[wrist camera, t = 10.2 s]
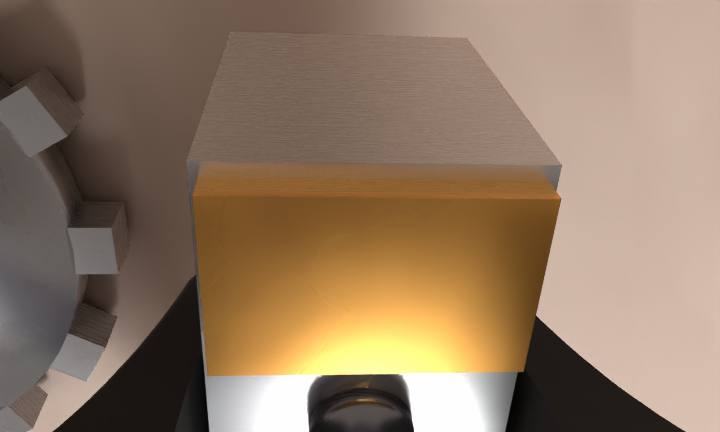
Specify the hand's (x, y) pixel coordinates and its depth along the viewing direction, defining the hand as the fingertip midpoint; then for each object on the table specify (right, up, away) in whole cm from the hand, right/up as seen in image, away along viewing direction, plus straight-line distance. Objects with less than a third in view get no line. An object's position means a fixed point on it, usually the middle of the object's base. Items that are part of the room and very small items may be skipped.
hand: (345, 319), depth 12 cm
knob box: (0, +1, +2) cm, 2 cm away
